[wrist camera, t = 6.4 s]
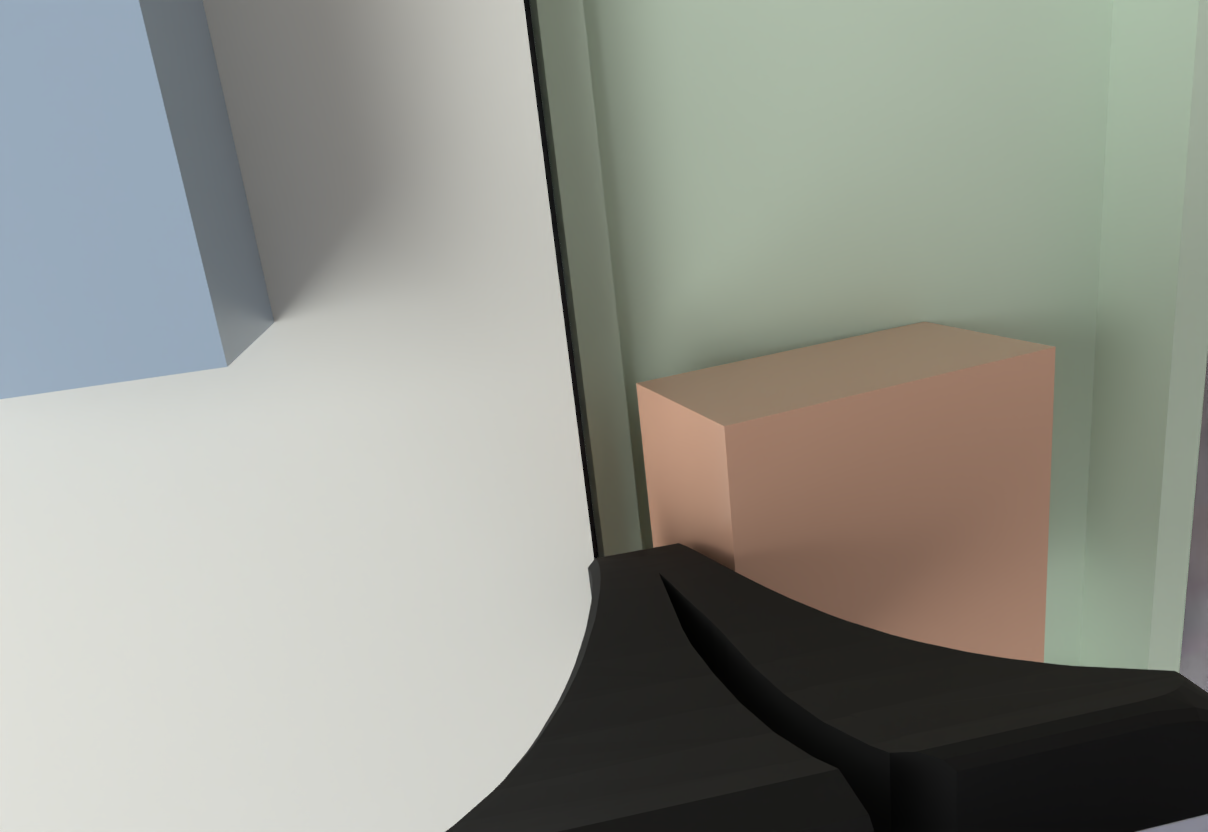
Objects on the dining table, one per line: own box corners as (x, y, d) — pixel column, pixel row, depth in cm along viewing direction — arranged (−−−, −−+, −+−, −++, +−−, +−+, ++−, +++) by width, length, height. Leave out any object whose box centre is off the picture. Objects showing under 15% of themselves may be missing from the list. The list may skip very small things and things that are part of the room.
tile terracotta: (925, 603, 15) (1043, 673, 13) (668, 691, 14) (751, 789, 12) (924, 321, 14) (1055, 346, 12) (636, 383, 12) (724, 426, 10)
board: (609, 774, 16) (631, 857, 14) (-272, 964, 14) (-386, 1092, 12) (468, -294, 11) (474, -390, 9) (-887, -232, 9) (-1236, -337, 7)
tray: (1091, 695, 17) (1171, 761, 15) (628, 798, 16) (653, 883, 14) (1150, -376, 12) (1281, -477, 10) (484, -353, 11) (495, -461, 9)
